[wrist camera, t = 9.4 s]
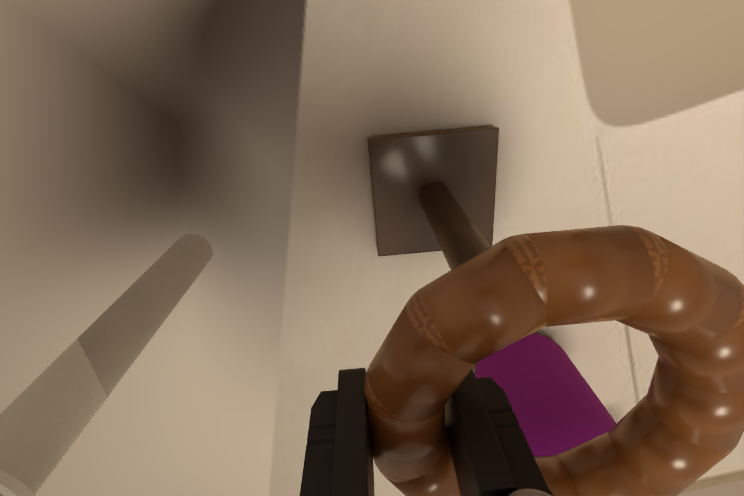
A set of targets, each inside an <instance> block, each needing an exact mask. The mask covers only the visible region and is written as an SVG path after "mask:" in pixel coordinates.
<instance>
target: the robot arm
mask: <svg viewBox="0 0 744 496" xmlns="http://www.w3.org/2000/svg"><path fill="white" fill-rule="evenodd" d="M365 375H366V369H365V368H357V369H346V370H339V377H338V390H334V391H323V392H321V393H320V394H319V396H318V398H317V399H316V401H315V403H314V404H313V406H312V408H311V415H310V423H309V430H308V438H307V446H306V453H305V461H304V468H303V476H302V483H301V491H300V496H374V472H373V454H372V446H371V438H370V430H369V422H368V414H367V406H366V397H365V394H364V379H365ZM445 429H446V432H447V435H448V439H449V444H450V449H451V456H452V460H453V464H454V468H455V473H456V477H457V481H458V485H459V489H460V493H461V496H554V495H553V494H552V492H551V491H550V490H549V488H548V486H547V484H546V482H545V480H544V478H543V476H542V473H541V471H540V469H539V467H538V464H537V462H536V460H535V458H534V455H533V453H532V451H531V449H530V447H529V444H528V442H527V440H526V438H525V435H524V433H523V431H522V429H521V426H519V422H518V420H517V418H516V415H515V413H514V412H513V410H512V406H511V404H510V402H509V400H508V397H507V395H506V393H505V391H504V390H503V389H502V388H501V387H500V386H499V385H498V384H497V383H496V382H495V381H494V380H493V379H492V378H491V377H483V378H476V377H475V375H474V372H473V369H471V371H470V372H469V373H468V375H467V376H466V377H465V379H464V380H463V382H462V383H461V384H460V386H459V387H458V388H457V390H456V391H455V392H454V394H453V395H452V396H451V398H450V399H449V400H448V402H447V403H446V404H445ZM0 496H1V495H0Z"/></svg>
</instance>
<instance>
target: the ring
mask: <svg viewBox="0 0 744 496" xmlns="http://www.w3.org/2000/svg"><path fill="white" fill-rule="evenodd" d="M613 320H616V321H619V322H621V323H623V324H626V325H628V326H630V327H633V328H635V329H637V330H640V331H642V332H644V333H647V334H648V335H649V337H650V339H651V341H652V343H653V345H654V347H655V349H656V351H657V354H658V356H659V357H658V360H657V363H656V367H655V370H654V373H653V377H652V380H651V383H650V386H649V390H648V393H647V395H646V396H645V397H644V398H643V399H642V400H641V401H640V402H639V403H638V404H636V405H635V406H634V407H633V408H632V409H631V410H630V411H629V412H628V413H627V414H626V415H625V416H624V417H623V418H622V419H621V420H620V421H619V422H618V423H617V424H616V425H615V426H614V427H613V428H612V429H611V430H610V431H609V432H607V433H604V434H602V435H600V436H597V437H595V438H593V439H591V440H588V441H586V442H584V443H582V444H579V445H577V446H575V447H573V448H570V449H568V450H566V451H564V452H561V453H559V454H557V455H548V456H537V457H534V458H535V460H536V462H537V464H538V467H539V469H540V471H541V473H542V476H543V478H544V480H545V482H546V484H547V486H548V488H549V490H550V491H551V492H552V494H553V495H554V496H677V495H678V494H680V493H681V492H682V491H683V490H684V489H686V488H687V487H688V486H689V485H691V484H692V483H693V482H694V481H696V480H697V479H698V478H699V477H701V476H702V475H703V474H704V473H706V472H707V471H708V470H709V469H711V468H712V467H713V466H714V465H716V464H717V463H718V462H719V461H721V460H722V459H723V458H724V457H726V456H727V455H728V454H729V453H731V452H732V450H733V449H734V448H735V447H736V446H737V444H738V442H739V440H740V438H741V436H742V434H743V432H744V285H743V284H742V283H741V282H740V281H739V280H738V278H737V277H735V276H734V275H733V274H731V273H730V272H729V271H727V270H725V269H724V268H722V267H720V266H718V265H716V264H714V263H712V262H710V261H708V260H706V259H704V258H702V257H700V256H698V255H696V254H694V253H692V252H690V251H688V250H686V249H684V248H682V247H680V246H678V245H676V244H674V243H672V242H670V241H668V240H666V239H664V238H662V237H660V236H658V235H656V234H654V233H652V232H650V231H648V230H645V229H643V228H639V227H634V226H625V225H618V226H607V227H596V228H585V229H574V230H563V231H552V232H541V233H530V234H521V235H515V236H511V237H508V238H506V239H504V240H502V241H500V242H498V243H496V244H495V245H493V246H491V247H490V248H488V249H486V250H485V251H483V252H481V253H480V254H478V255H476V256H475V257H473V258H471V259H470V260H468V261H466V262H464V263H463V264H461V265H459V266H458V267H456V268H454V269H453V270H451V271H449V272H448V273H446V274H444V275H443V276H441V277H439V278H438V279H436V280H434V281H433V282H431V283H429V284H428V285H426V286H424V287H422V288H421V289H419V290H418V291H417V292H416V293H415V294H414V295H413V296H412V297H411V298H410V299H409V300H408V302H407V303H406V305H405V307H404V308H403V310H402V312H401V313H400V315H399V317H398V318H397V320H396V322H395V324H394V325H393V327H392V329H391V330H390V332H389V334H388V335H387V337H386V339H385V340H384V342H383V344H382V345H381V347H380V349H379V350H378V352H377V354H376V355H375V357H374V359H373V360H372V362H371V364H370V366H369V368H368V370H367V372H366V375H365V379H364V394H365V397H366V406H367V414H368V422H369V430H370V438H371V446H372V454H373V459H374V461H375V464H376V466H377V467H378V469H379V470H380V472H381V473H382V474H383V475H384V476H385V477H386V478H387V479H388V480H389V481H390V482H391V483H392V484H393V485H394V486H396V487H397V488H398V489H399V490H400V491H401V492H402V493H403V494H404V495H405V496H461V493H460V489H459V485H458V481H457V477H456V473H455V468H454V464H453V460H452V456H451V449H450V444H449V439H448V435H447V432H446V429H445V404H446V403H447V402H448V400H449V399H450V398H451V396H452V395H453V394H454V392H455V391H456V390H457V388H458V387H459V386H460V384H461V383H462V382H463V380H464V379H465V377H466V376H467V375H468V373H469V372H470V371H471V369H472V368H473V367H474V365H475V364H476V363H477V362H479V361H481V360H483V359H484V358H486V357H488V356H490V355H492V354H494V353H496V352H498V351H500V350H502V349H503V348H505V347H507V346H509V345H511V344H513V343H515V342H517V341H519V340H521V339H523V338H524V337H526V336H528V335H530V334H532V333H534V332H536V331H538V330H540V329H542V328H543V327H546V326H557V325H568V324H579V323H590V322H601V321H613Z"/></svg>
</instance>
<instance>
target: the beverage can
mask: <svg viewBox="0 0 744 496" xmlns="http://www.w3.org/2000/svg"><path fill="white" fill-rule="evenodd" d="M475 377H476V378H483V377H491V378H492V379H493V380H494V381H495V382H496V383H497V384H498V385H499V386H500V387H501V388H502V389H503V390H504V391H505V393H506V395H507V397H508V400H509V402H510V404H511V406H512V410H513V412H514V413H515V415H516V418H517V420H518V422H519V426H521V429H522V431H523V433H524V435H525V438H526V440H527V442H528V444H529V447H530V449H531V451H532V453H533V455H534V457H537V456H548V455H557V454H559V453H561V452H564V451H566V450H568V449H570V448H573V447H575V446H577V445H579V444H582V443H584V442H586V441H588V440H591V439H593V438H595V437H597V436H600V435H602V434H604V433H607V432H609V431H610V430H611V429H612V428H613V427H614V426H615V425H616V422H615V421H614V419H613V418H612V417H611V415H610V414H609V413H608V411H607V410H606V408H605V407H604V406H603V404H602V403H601V401H600V400H599V399H598V397H597V396H596V395H595V393H594V392H593V390H592V389H591V388H590V386H589V385H588V383H587V382H586V381H585V379H584V378H583V377H582V375H581V374H580V372H579V371H578V370H577V368H576V367H575V366H574V364H573V363H572V361H571V360H570V359H569V357H568V356H567V354H566V353H565V352H564V350H563V349H562V348H561V347H560V346H559V345H558V344H557V343H555V342H554V341H553V340H552V339H550V338H549V337H546V336H543V335H540V334H530V335H528V336H526V337H524V338H523V339H521V340H519V341H517V342H515V343H513V344H511V345H509V346H507V347H505V348H503V349H502V350H500V351H498V352H496V353H494V354H492V355H490V356H488V357H486V358H484V359H483V360H481V361H479V362H477V365H476V370H475Z"/></svg>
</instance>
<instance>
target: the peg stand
mask: <svg viewBox="0 0 744 496" xmlns="http://www.w3.org/2000/svg"><path fill="white" fill-rule="evenodd" d="M498 133H499V128H497V127H495V126H493V125H490V126H480V127H469V128H458V129H447V130H437V131H426V132H415V133H404V134H394V135H383V136H372V137H368V145H369V157H370V168H371V180H372V191H373V203H374V214H375V226H376V237H377V249H378V256H387V255H398V254H409V253H420V252H431V251H443V254H444V256H445V258H446V260H447V262H448V265H449V267H450V269H451V270H453V269H454V268H456V267H458V266H459V265H461V264H463V263H464V262H466V261H468V260H470V259H471V258H473V257H475V256H476V255H478V254H480V253H481V252H483V251H485V250H486V249H488V248H490V247H491V246H492V240H493V223H494V205H495V187H496V169H497V151H498Z"/></svg>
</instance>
